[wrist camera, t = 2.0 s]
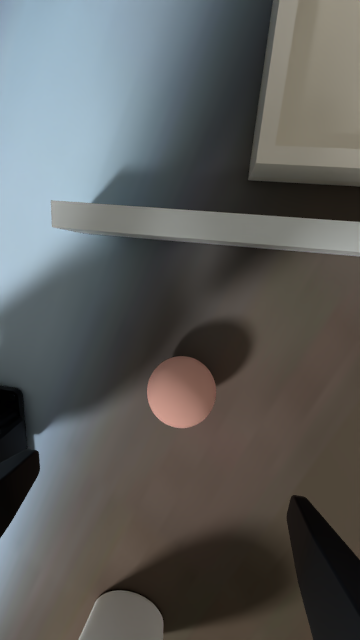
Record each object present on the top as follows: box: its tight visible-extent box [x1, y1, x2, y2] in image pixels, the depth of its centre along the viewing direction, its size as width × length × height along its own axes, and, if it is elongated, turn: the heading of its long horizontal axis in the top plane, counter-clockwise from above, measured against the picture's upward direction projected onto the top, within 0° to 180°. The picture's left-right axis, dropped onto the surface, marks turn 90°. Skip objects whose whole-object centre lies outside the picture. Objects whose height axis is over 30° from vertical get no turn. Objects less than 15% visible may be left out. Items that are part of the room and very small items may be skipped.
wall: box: [51, 200, 360, 256], centre depth 12 cm, size 20×1×3 cm, turn 85°
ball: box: [147, 356, 216, 428], centre depth 14 cm, size 4×4×4 cm
